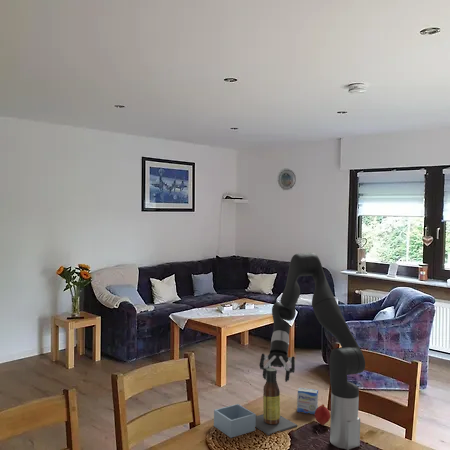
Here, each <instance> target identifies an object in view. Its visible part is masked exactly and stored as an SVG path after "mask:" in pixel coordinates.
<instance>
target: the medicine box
mask: <svg viewBox="0 0 450 450" xmlns="http://www.w3.org/2000/svg"><path fill="white" fill-rule="evenodd" d="M296 396H297V397H296V398H297V400H296V401H297V402H296V412H297V413H300V412H304V413H303V414H308V413H310V414H309V415H315V411H316V409H317V408H318V407H319V405H318V403H319V390H318V389H311V388H305V387H298V389H297V395H296Z"/></svg>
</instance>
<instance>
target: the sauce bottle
mask: <svg viewBox="0 0 450 450" xmlns="http://www.w3.org/2000/svg"><path fill="white" fill-rule="evenodd" d="M277 371H278V369H276V368H275V367H271V368H267V369H266V380H265V381H266V382H265V383H264V385H263V395H262V396H263V397H262V398H263V400H262V401H263V402H262V404H263V406H262V407H263V408H262V409H263V411H262V412H263V413H262V414H263V417H264V422H265V423H267V424H270V425H274V424H278V423H279V421H280V416H281V394H280V392H281V391H280V388H279V384H278V382H277V373H278V372H277Z"/></svg>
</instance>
